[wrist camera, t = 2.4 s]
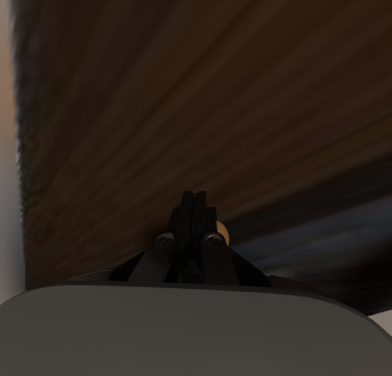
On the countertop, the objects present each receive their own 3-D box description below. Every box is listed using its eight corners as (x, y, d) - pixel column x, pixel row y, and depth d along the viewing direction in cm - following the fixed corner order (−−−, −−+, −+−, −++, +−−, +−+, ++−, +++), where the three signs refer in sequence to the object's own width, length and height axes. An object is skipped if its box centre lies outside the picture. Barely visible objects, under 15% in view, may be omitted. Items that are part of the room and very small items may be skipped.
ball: (227, 211, 21) (232, 240, 17) (226, 237, 24) (229, 269, 19) (191, 210, 22) (185, 239, 17) (193, 236, 25) (189, 267, 20)
